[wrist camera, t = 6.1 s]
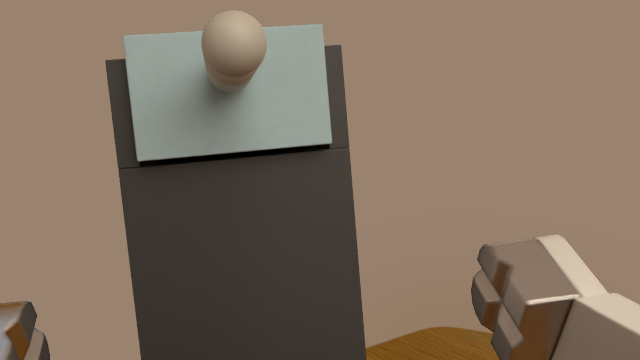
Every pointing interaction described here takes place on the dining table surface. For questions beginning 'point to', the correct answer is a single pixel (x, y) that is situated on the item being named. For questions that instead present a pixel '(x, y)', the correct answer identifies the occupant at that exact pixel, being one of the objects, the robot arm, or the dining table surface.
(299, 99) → the tray
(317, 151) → the box
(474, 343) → the dining table surface
